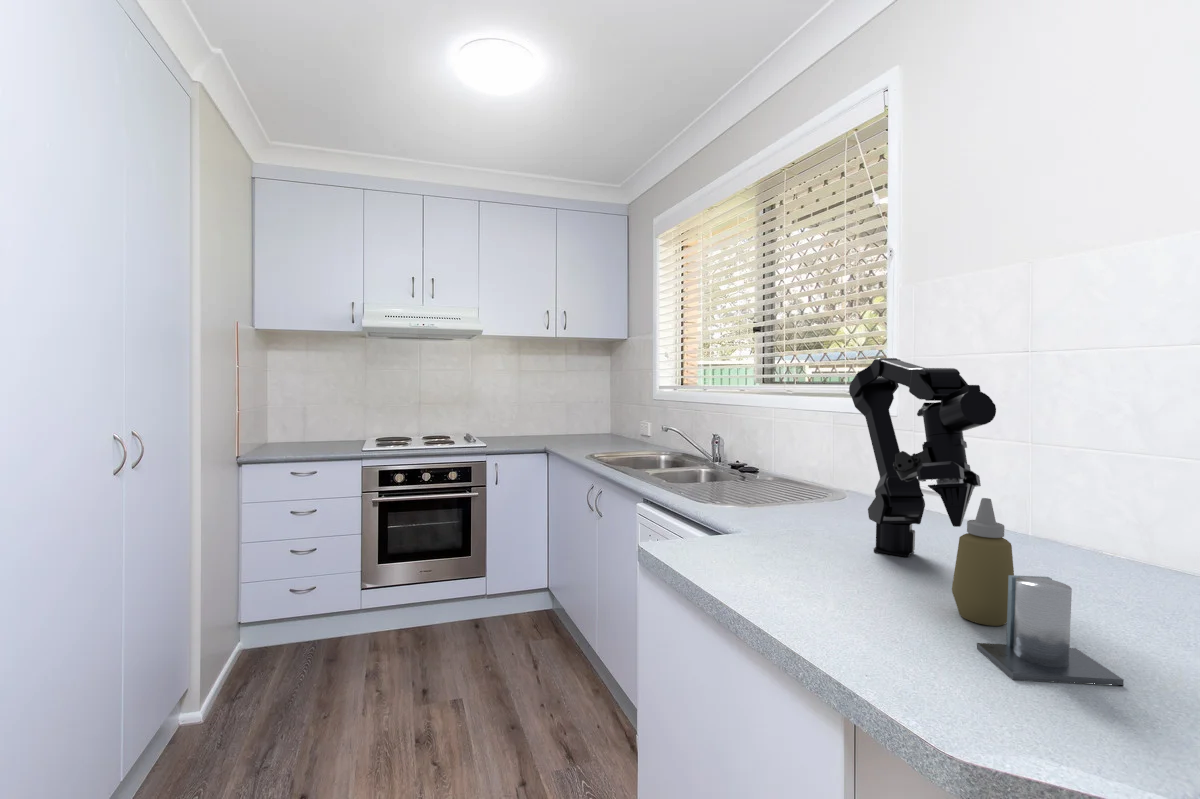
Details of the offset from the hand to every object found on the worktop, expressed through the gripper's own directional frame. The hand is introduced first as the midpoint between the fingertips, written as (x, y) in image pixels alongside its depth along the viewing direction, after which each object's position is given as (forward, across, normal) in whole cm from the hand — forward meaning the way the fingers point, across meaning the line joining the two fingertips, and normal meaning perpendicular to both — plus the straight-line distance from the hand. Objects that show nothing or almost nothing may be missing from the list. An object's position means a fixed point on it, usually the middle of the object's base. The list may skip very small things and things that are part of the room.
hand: (956, 526), depth 100 cm
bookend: (+18, +21, +11) cm, 30 cm away
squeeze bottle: (+14, +10, +3) cm, 17 cm away
